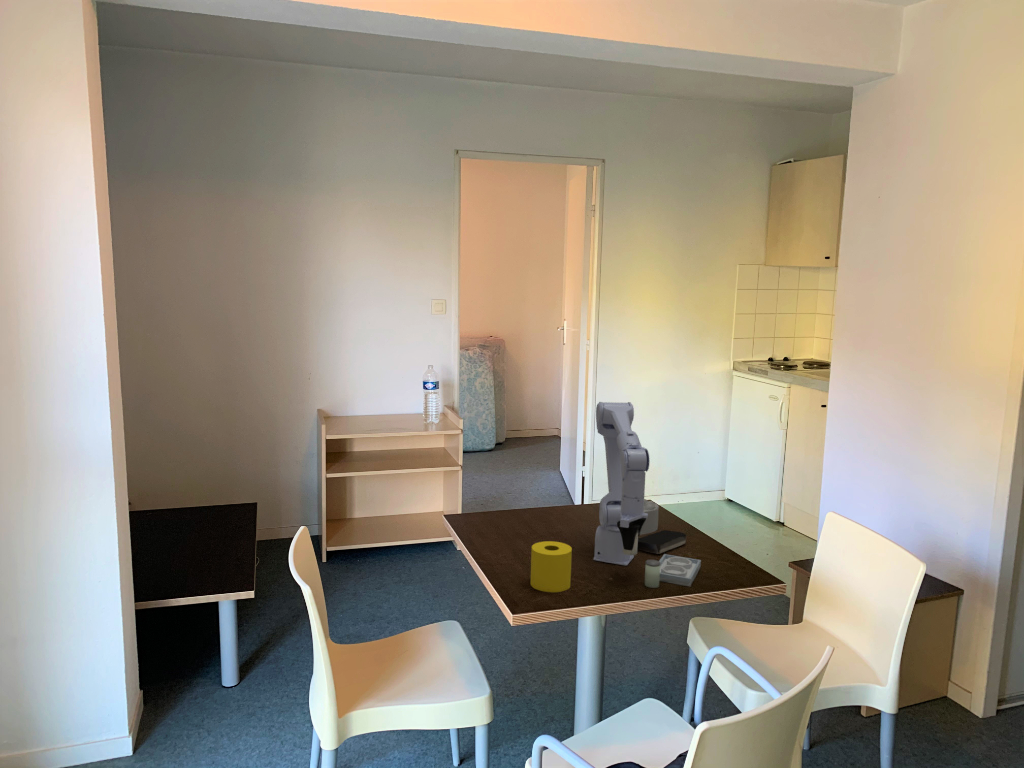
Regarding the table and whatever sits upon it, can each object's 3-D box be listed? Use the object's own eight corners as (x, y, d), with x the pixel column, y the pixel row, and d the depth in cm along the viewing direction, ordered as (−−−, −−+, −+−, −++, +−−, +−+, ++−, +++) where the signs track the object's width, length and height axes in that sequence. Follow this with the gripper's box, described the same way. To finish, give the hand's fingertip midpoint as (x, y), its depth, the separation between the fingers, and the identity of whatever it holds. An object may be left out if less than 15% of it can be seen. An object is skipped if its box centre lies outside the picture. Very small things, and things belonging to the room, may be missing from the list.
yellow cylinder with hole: (578, 587, 187) (579, 550, 186) (545, 595, 181) (547, 557, 180) (554, 574, 195) (556, 539, 194) (522, 581, 190) (523, 545, 189)
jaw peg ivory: (621, 553, 192) (622, 530, 191) (625, 549, 195) (626, 527, 194) (635, 556, 190) (636, 533, 190) (638, 551, 194) (639, 529, 193)
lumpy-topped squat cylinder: (613, 527, 236) (614, 500, 235) (640, 520, 244) (642, 494, 243) (638, 536, 228) (639, 508, 227) (666, 528, 236) (667, 501, 235)
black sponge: (656, 558, 210) (657, 545, 209) (631, 550, 216) (632, 537, 215) (688, 545, 221) (689, 533, 221) (664, 538, 227) (665, 526, 227)
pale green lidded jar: (643, 586, 189) (644, 563, 188) (646, 581, 192) (647, 558, 191) (657, 588, 187) (658, 565, 187) (660, 583, 191) (661, 561, 190)
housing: (651, 579, 193) (651, 571, 193) (663, 561, 207) (664, 553, 207) (690, 586, 189) (690, 578, 189) (700, 567, 203) (701, 559, 203)
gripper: (641, 504, 183) (638, 558, 184) (655, 491, 196) (652, 541, 197) (613, 500, 185) (610, 553, 187) (628, 487, 199) (626, 537, 200)
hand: (630, 547), depth 192 cm, fingers closed on jaw peg ivory, 4 cm apart
